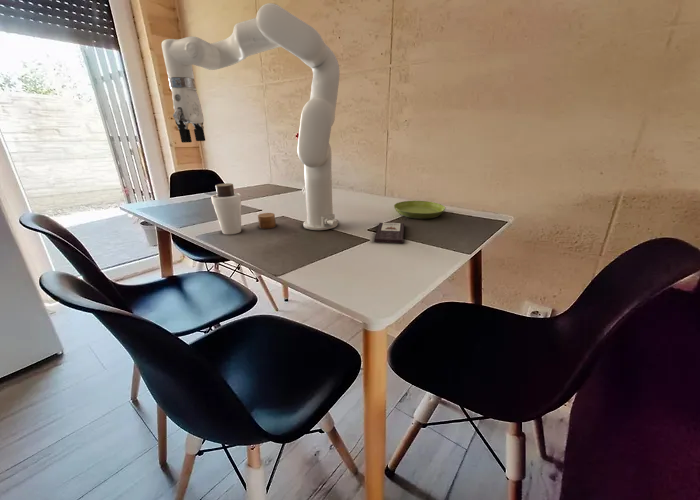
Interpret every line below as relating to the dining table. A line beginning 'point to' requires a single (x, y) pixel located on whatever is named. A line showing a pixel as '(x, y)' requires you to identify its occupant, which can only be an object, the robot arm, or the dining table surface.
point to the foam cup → (228, 212)
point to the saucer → (419, 209)
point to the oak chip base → (267, 225)
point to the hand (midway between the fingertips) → (194, 141)
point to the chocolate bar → (390, 233)
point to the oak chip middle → (266, 217)
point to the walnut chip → (225, 190)
